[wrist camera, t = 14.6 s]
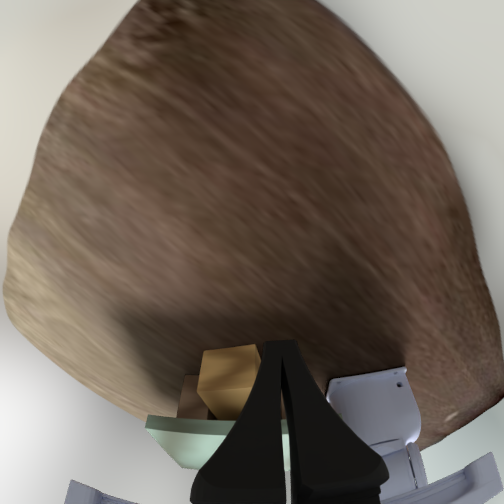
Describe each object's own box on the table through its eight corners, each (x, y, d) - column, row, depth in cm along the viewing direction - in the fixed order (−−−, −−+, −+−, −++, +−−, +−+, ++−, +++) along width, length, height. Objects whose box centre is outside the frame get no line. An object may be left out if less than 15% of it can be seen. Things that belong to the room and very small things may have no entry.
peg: (255, 342, 25) (254, 386, 21) (277, 403, 31) (279, 438, 26) (204, 349, 26) (196, 391, 21) (237, 407, 31) (236, 442, 27)
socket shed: (329, 358, 26) (344, 427, 19) (316, 414, 32) (323, 466, 25) (162, 362, 27) (144, 428, 20) (189, 417, 33) (182, 467, 26)
